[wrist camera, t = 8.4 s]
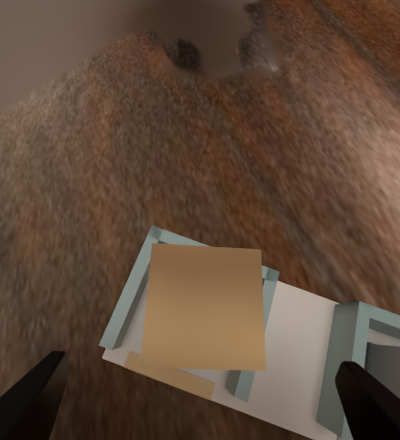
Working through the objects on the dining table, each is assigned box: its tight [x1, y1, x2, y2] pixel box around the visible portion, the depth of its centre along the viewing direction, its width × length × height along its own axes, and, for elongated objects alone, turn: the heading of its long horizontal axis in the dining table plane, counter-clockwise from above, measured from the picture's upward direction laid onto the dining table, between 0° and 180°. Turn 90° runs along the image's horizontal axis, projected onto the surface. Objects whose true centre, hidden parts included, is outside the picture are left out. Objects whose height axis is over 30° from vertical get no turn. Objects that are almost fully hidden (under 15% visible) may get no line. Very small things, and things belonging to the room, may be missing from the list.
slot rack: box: [99, 225, 400, 440], centre depth 19 cm, size 9×24×4 cm, turn 71°
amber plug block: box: [140, 243, 266, 371], centre depth 16 cm, size 5×5×10 cm
